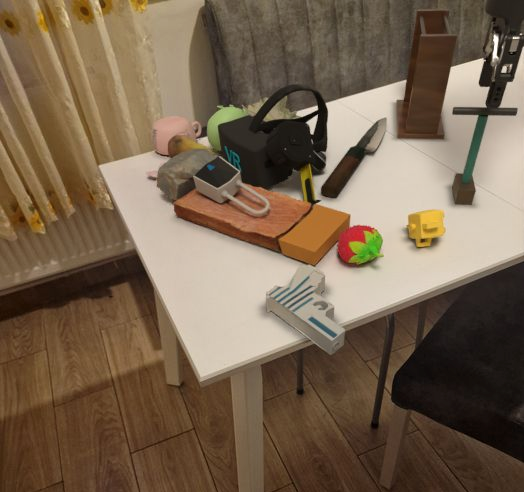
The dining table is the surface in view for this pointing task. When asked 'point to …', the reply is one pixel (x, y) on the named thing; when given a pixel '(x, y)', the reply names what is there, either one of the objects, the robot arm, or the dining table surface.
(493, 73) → the robot arm
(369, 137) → the kitchen knife
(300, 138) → the tape measure
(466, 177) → the green t-shaped stand
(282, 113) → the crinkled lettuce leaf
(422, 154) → the dining table surface
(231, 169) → the padlock
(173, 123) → the mug
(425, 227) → the yellow studded block
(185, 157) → the stone
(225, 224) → the wooden plank
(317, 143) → the virtual reality headset
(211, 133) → the green curved piece
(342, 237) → the strawberry
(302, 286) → the toy gun
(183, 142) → the fruit
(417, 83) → the wooden rack
